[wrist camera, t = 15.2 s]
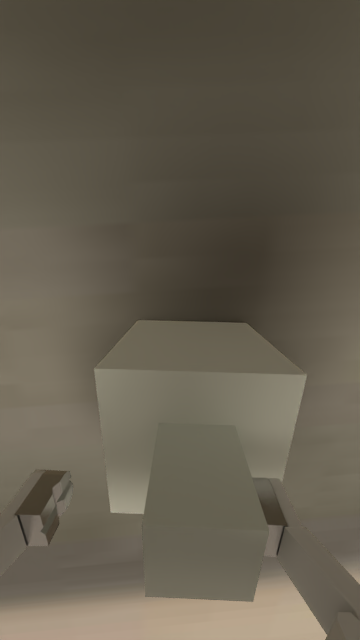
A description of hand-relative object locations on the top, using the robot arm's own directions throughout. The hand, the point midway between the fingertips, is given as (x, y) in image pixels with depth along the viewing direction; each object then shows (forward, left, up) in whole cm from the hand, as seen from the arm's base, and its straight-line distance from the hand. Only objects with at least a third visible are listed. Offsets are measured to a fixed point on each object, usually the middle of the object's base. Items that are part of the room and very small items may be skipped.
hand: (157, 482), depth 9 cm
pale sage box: (-1, +2, -10) cm, 11 cm away
